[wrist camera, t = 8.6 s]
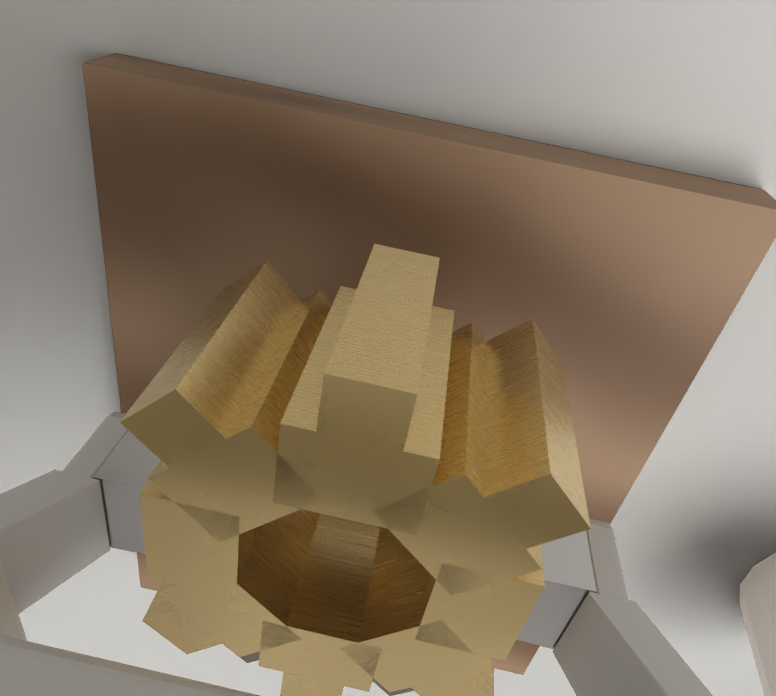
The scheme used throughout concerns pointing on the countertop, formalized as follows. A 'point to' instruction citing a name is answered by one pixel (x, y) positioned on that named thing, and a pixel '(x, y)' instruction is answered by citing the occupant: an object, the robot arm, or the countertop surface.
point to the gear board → (418, 241)
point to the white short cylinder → (761, 619)
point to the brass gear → (355, 483)
